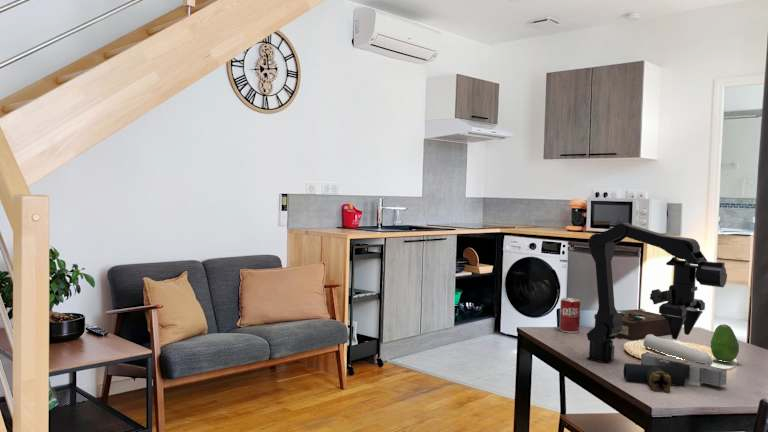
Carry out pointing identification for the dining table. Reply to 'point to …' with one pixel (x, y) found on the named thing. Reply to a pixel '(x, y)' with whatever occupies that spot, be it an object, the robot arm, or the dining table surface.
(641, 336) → the brown flat box
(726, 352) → the avocado
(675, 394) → the dining table surface
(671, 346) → the tube
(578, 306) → the soda can
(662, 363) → the collar rail
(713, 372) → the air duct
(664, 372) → the pipe connector
